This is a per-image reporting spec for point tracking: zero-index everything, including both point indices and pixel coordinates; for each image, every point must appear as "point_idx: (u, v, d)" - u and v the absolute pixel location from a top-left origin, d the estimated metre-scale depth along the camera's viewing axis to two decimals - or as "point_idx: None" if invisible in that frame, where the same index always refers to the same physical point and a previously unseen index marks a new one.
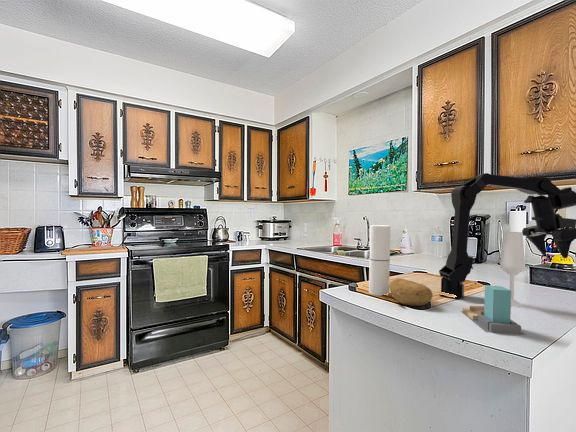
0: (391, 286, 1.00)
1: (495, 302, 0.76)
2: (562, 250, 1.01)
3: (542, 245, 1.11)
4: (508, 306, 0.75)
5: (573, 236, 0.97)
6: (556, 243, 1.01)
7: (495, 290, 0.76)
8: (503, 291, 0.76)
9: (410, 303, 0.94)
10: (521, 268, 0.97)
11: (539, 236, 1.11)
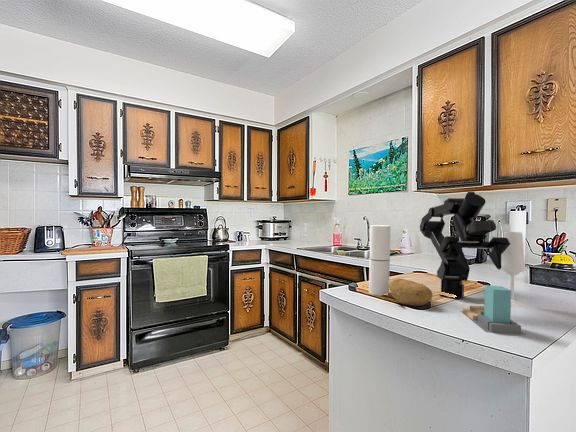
0: (391, 286, 1.00)
1: (495, 302, 0.76)
2: (458, 261, 0.92)
3: (495, 260, 0.91)
4: (508, 306, 0.75)
5: (443, 245, 0.95)
6: None
7: (495, 290, 0.76)
8: (503, 291, 0.76)
9: (410, 303, 0.94)
10: (521, 268, 0.97)
11: (493, 250, 0.93)
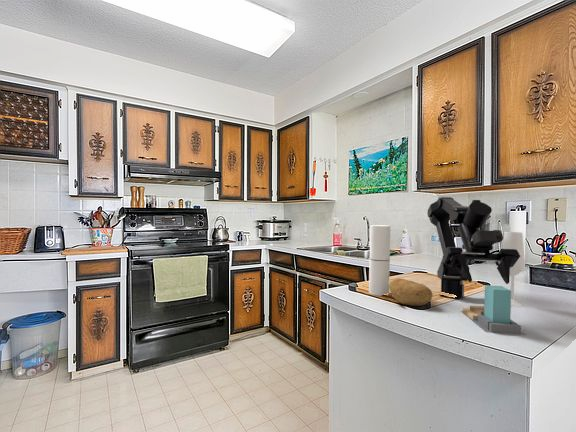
0: (391, 286, 1.00)
1: (495, 302, 0.76)
2: (462, 274, 0.86)
3: (503, 273, 0.84)
4: (508, 306, 0.75)
5: (446, 256, 0.89)
6: None
7: (495, 290, 0.76)
8: (503, 291, 0.76)
9: (410, 303, 0.94)
10: (521, 268, 0.97)
11: (501, 263, 0.86)
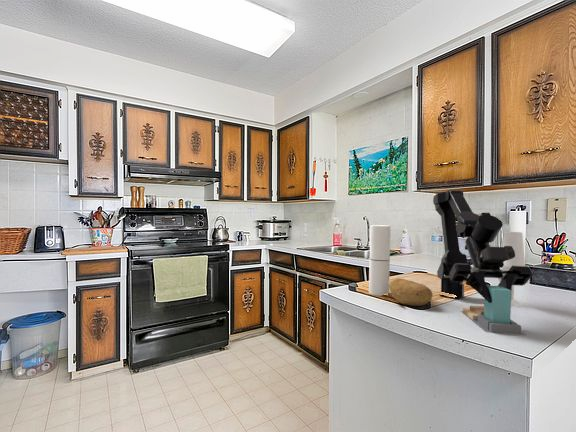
0: (391, 286, 1.00)
1: (495, 302, 0.76)
2: (480, 293, 0.80)
3: None
4: (508, 306, 0.75)
5: (453, 274, 0.83)
6: None
7: (495, 290, 0.76)
8: (503, 291, 0.76)
9: (410, 302, 0.94)
10: None
11: (502, 280, 0.80)
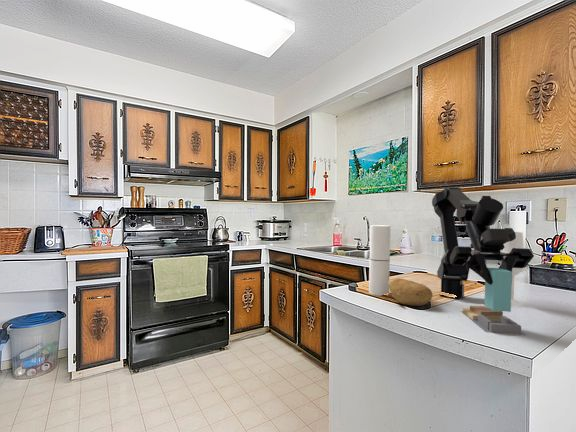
0: (391, 286, 1.00)
1: (495, 284, 0.76)
2: (481, 275, 0.80)
3: None
4: (509, 287, 0.75)
5: (453, 256, 0.83)
6: None
7: (496, 271, 0.76)
8: (504, 272, 0.75)
9: (410, 303, 0.94)
10: (521, 268, 0.97)
11: (503, 263, 0.80)
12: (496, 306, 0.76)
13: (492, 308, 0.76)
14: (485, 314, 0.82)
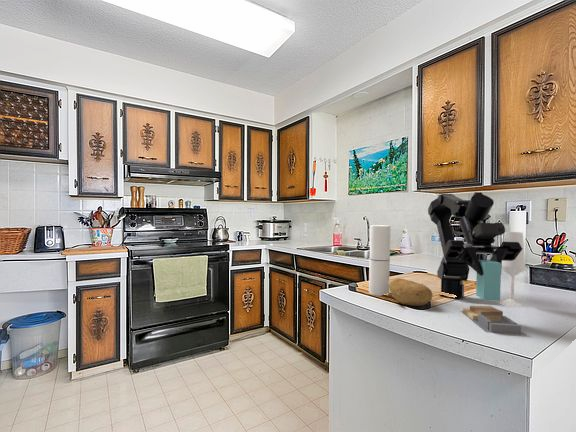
0: (391, 286, 1.00)
1: (486, 275, 0.81)
2: (473, 267, 0.85)
3: None
4: (498, 278, 0.80)
5: (447, 249, 0.88)
6: None
7: (486, 263, 0.81)
8: (493, 264, 0.80)
9: (410, 303, 0.94)
10: (521, 268, 0.97)
11: (493, 255, 0.85)
12: (487, 295, 0.81)
13: (483, 297, 0.81)
14: (485, 314, 0.82)
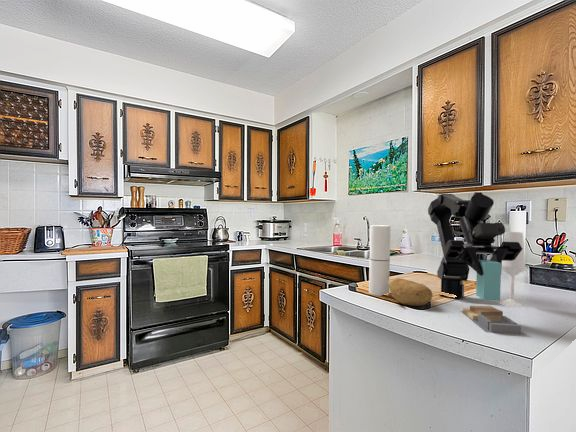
0: (391, 286, 1.00)
1: (486, 275, 0.81)
2: (473, 267, 0.85)
3: None
4: (498, 278, 0.80)
5: (447, 249, 0.88)
6: None
7: (486, 263, 0.81)
8: (493, 264, 0.80)
9: (410, 302, 0.94)
10: (521, 268, 0.97)
11: (493, 255, 0.85)
12: (487, 295, 0.81)
13: (483, 297, 0.81)
14: (485, 314, 0.82)
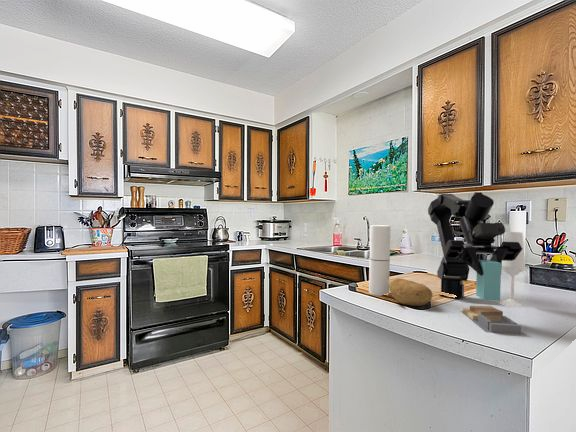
0: (391, 286, 1.00)
1: (486, 275, 0.81)
2: (473, 267, 0.85)
3: None
4: (498, 278, 0.80)
5: (447, 249, 0.88)
6: None
7: (486, 263, 0.81)
8: (493, 264, 0.80)
9: (410, 303, 0.94)
10: (521, 268, 0.97)
11: (493, 255, 0.85)
12: (487, 295, 0.81)
13: (483, 297, 0.81)
14: (485, 314, 0.82)
